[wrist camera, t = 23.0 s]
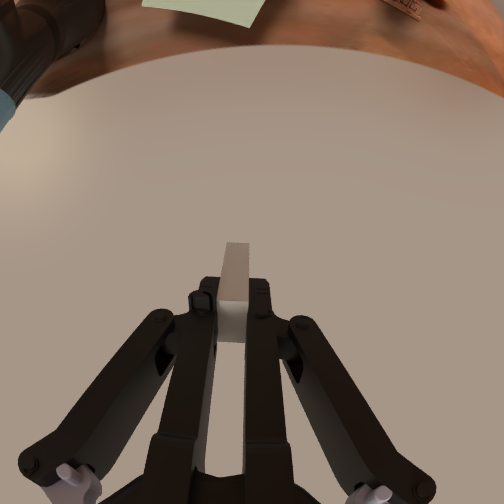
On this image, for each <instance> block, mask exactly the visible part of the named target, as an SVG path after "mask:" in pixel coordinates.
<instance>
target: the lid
mask: <svg viewBox="0 0 504 504" xmlns="http://www.w3.org/2000/svg"><path fill="white" fill-rule="evenodd" d="M264 2H265V0H143V2H142V6H146V7H156V8H164V9H171V10H177V11H183V12H188V13H193V14H198V15H203V16H207V17H212V18H216V19H220V20H223V21H227V22H231V23H234V24H237V25H241V26H244V27H247V28H250V26H251V25H252V23H253V21H254V19H255V17H256V15H257V14H258V12H259V10H260V8H261V7H262V5H263V3H264Z"/></svg>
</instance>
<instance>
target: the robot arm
mask: <svg viewBox="0 0 504 504" xmlns="http://www.w3.org/2000/svg"><path fill="white" fill-rule="evenodd" d="M103 13H104V0H20V1H19V2H18V3H17V4H16V5H15V3H14V0H0V132H1V131H2V129H3V128H4V126H5V125H6V124H7V122H8V121H9V120H10V119H11V118H12V117H13V115H14V114H15V110H16V109H17V107H18V106H19V105H20V103H21V102H22V100H23V99H24V98H25V96H26V95H27V93H28V92H29V91H30V89H31V88H32V87H33V86H34V84H35V83H36V82H37V80H38V79H39V78H40V77H41V76H42V74H43V73H44V72H45V71H46V69H47V68H48V67H49V66H50V65H51V64H52V63H54V62H56V61H58V60H60V59H62V58H64V57H66V56H68V55H70V54H72V53H73V52H75V51H76V50H78V49H79V48H80V47H82V46H83V45H84V44H85V43H86V42H87V41H88V40H89V39H90V38H91V37H92V36H93V35H94V33H95V32H96V30H97V29H98V27H99V25H100V23H101V21H102V17H103ZM188 300H189V312H187V313H185V314H181V315H173V313H172V312H171V311H170V310H167V309H156V310H154V311H152V312H151V313H150V314H149V315H148V316H147V317H146V318H145V319H144V320H143V322H142V323H141V324H140V325H139V326H138V327H137V329H136V330H135V331H134V332H133V333H132V335H131V336H130V337H129V338H128V339H127V340H126V342H125V343H124V344H123V345H122V346H121V348H120V349H119V350H118V351H117V352H116V354H115V355H114V356H113V357H112V359H111V360H110V361H109V362H108V363H107V365H106V366H105V367H104V368H103V370H102V371H101V372H100V373H99V375H98V376H97V377H96V378H95V380H94V381H93V382H92V383H91V385H90V386H89V387H88V388H87V390H86V391H85V392H84V394H83V395H82V396H81V398H80V399H79V400H78V401H77V403H76V404H75V405H74V407H73V408H72V409H71V410H70V412H69V413H68V414H67V416H66V417H65V419H64V420H63V421H62V422H61V424H60V425H59V427H58V428H57V429H56V430H55V431H54V432H52V433H50V434H49V435H47V436H46V437H44V438H43V439H41V440H39V441H38V442H36V443H35V444H33V445H32V446H30V447H28V448H27V449H25V450H24V451H23V452H22V453H21V454H20V456H19V458H18V466H19V469H20V472H21V473H22V474H23V475H24V476H25V477H26V478H28V479H29V480H31V481H33V482H34V483H36V484H37V485H39V486H40V487H41V488H42V489H43V491H44V492H45V494H46V495H47V497H48V498H49V499H50V501H51V502H52V504H95V503H96V500H97V498H98V497H99V496H101V494H102V485H101V483H100V480H102V479H103V478H104V476H105V475H106V474H107V473H108V472H109V471H110V470H111V468H112V467H113V465H114V464H115V462H116V460H117V459H118V457H119V455H120V454H121V452H122V450H123V449H124V447H125V445H126V444H127V442H128V440H129V438H130V437H131V435H132V434H133V432H134V430H135V428H136V427H137V425H138V424H139V422H140V420H141V419H142V417H143V415H144V414H145V412H146V410H147V408H148V407H149V405H150V403H151V402H152V400H153V399H154V397H155V395H156V394H157V392H158V390H159V389H160V387H161V385H162V384H163V382H164V380H165V379H166V377H167V375H168V374H169V372H170V370H171V369H172V367H173V366H174V368H173V372H172V375H171V379H170V383H169V387H168V391H167V395H166V399H165V403H164V408H163V412H162V416H161V421H160V425H159V429H158V432H157V433H156V434H154V435H153V436H152V438H151V441H150V445H149V450H148V454H147V459H146V464H145V469H144V474H143V475H140V476H139V477H137V478H135V479H134V480H133V481H131V482H130V483H129V484H127V485H126V486H124V487H123V488H121V489H120V490H118V491H117V492H115V493H114V494H112V495H111V496H110V497H108V498H106V499H105V500H103V501H102V502H100V503H98V504H321V503H319V502H318V501H317V500H316V499H315V498H314V497H312V496H311V495H310V494H309V493H308V492H307V491H306V490H305V489H303V488H302V487H300V486H298V485H297V484H295V483H294V477H293V465H292V454H291V447H290V444H289V443H288V442H287V438H286V426H285V415H284V405H283V393H282V384H281V373H280V363H279V359H282V361H283V364H284V366H285V369H286V371H287V373H288V375H289V378H290V380H291V382H292V384H293V387H294V388H295V391H296V393H297V395H298V397H299V400H300V402H301V404H302V406H303V409H304V411H305V413H306V415H307V417H308V419H309V422H310V424H311V426H312V428H313V430H314V432H315V435H316V437H317V439H318V441H319V443H320V445H321V448H322V450H323V452H324V454H325V456H326V458H327V460H328V462H329V464H330V467H331V469H332V471H333V473H334V475H335V477H336V479H337V481H338V483H339V484H340V486H341V487H342V489H343V490H344V491H345V493H346V494H347V495H348V496H349V497H348V499H347V501H346V503H345V504H428V503H429V502H430V501H431V500H432V499H433V497H434V496H435V493H436V484H435V481H434V480H433V479H432V478H431V477H430V476H429V475H427V474H426V473H425V472H423V471H422V470H421V469H419V468H418V467H416V466H415V465H414V464H413V463H411V462H410V461H409V460H407V459H406V458H405V457H403V456H402V455H401V454H400V453H398V452H397V450H396V449H395V447H394V446H393V444H392V442H391V441H390V439H389V437H388V436H387V434H386V432H385V431H384V429H383V428H382V426H381V425H380V423H379V421H378V420H377V418H376V416H375V415H374V413H373V412H372V410H371V408H370V407H369V405H368V404H367V402H366V400H365V399H364V397H363V396H362V394H361V392H360V391H359V389H358V388H357V386H356V385H355V383H354V381H353V380H352V378H351V377H350V376H349V374H348V372H347V370H346V369H345V367H344V366H343V364H342V363H341V361H340V359H339V358H338V356H337V355H336V353H335V352H334V350H333V349H332V347H331V345H330V344H329V343H328V341H327V339H326V338H325V336H324V335H323V333H322V332H321V330H320V329H319V327H318V325H317V324H316V322H315V321H314V320H313V319H311V318H310V317H308V316H303V315H298V316H294V317H293V318H291V319H290V321H288V320H284V319H281V318H279V317H277V316H276V315H275V314H274V312H273V311H272V305H271V297H270V287H269V283H268V282H267V280H266V279H259V278H249V243H227V245H226V250H225V256H224V261H223V267H222V272H221V277H208V276H207V277H205V278H204V279H202V280H201V282H200V286H199V289H198V290H196V291H193V292H192V293H190V294H189V296H188ZM217 341H219V342H237V343H246V344H245V378H244V423H243V470H242V474H240V475H234V476H228V477H220V478H219V477H215V476H212V475H209V474H205V452H206V442H207V432H208V422H209V413H210V404H211V394H212V386H213V378H214V369H215V361H216V352H217Z"/></svg>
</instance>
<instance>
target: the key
mask: <svg viewBox="0 0 504 504" xmlns="http://www.w3.org/2000/svg"><path fill="white" fill-rule="evenodd" d="M383 1H385V2H387V3H389V4H391V5H393V6H394V7H396V8H398V9H400V10H401V11H403V12H405V13H406V14H408V15H410V16H411V17H413V18H415V19H416V20H418V21H420V20H421V17H420V16H419V15H418V14H419V13H420V11H421V9H422V7H423V6H424V5H423V4H422V3H420V2H419V1H418V0H414V1H415V2H416V3H418V4H419V5H421V6H422V7H420V6H418V5H417V4H415V3H414V2H413V3H412V4H411V6H410V7H411V8H412V9H414V10H415V9H416V8H417V10H416V11H415V12H414V11H413V10H411V9H410V8H408V7H409V5H410V3H411V2H412V0H410V2H409V4H408V5H407V3H408V1H409V0H402V1H401V2H402V3H404V4H406V5H407V6H405V5H403V4H402V3H400V0H397V1H394V0H383Z"/></svg>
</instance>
